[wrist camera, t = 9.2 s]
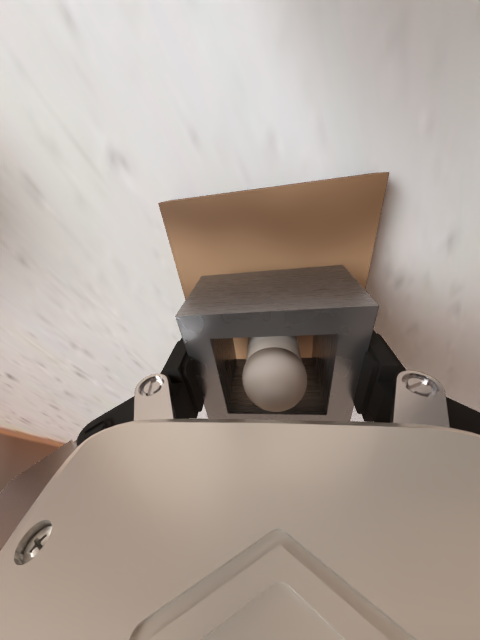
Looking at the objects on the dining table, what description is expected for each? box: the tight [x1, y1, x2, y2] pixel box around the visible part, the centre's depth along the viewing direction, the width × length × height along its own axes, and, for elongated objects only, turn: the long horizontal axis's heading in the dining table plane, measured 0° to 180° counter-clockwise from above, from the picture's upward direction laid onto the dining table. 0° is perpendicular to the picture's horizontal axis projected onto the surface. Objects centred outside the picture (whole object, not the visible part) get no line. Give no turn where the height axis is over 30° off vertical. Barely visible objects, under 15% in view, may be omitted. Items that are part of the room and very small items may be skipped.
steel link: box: [175, 265, 379, 421], centre depth 11 cm, size 7×7×4 cm
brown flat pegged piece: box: [158, 172, 389, 412], centre depth 12 cm, size 14×11×8 cm
